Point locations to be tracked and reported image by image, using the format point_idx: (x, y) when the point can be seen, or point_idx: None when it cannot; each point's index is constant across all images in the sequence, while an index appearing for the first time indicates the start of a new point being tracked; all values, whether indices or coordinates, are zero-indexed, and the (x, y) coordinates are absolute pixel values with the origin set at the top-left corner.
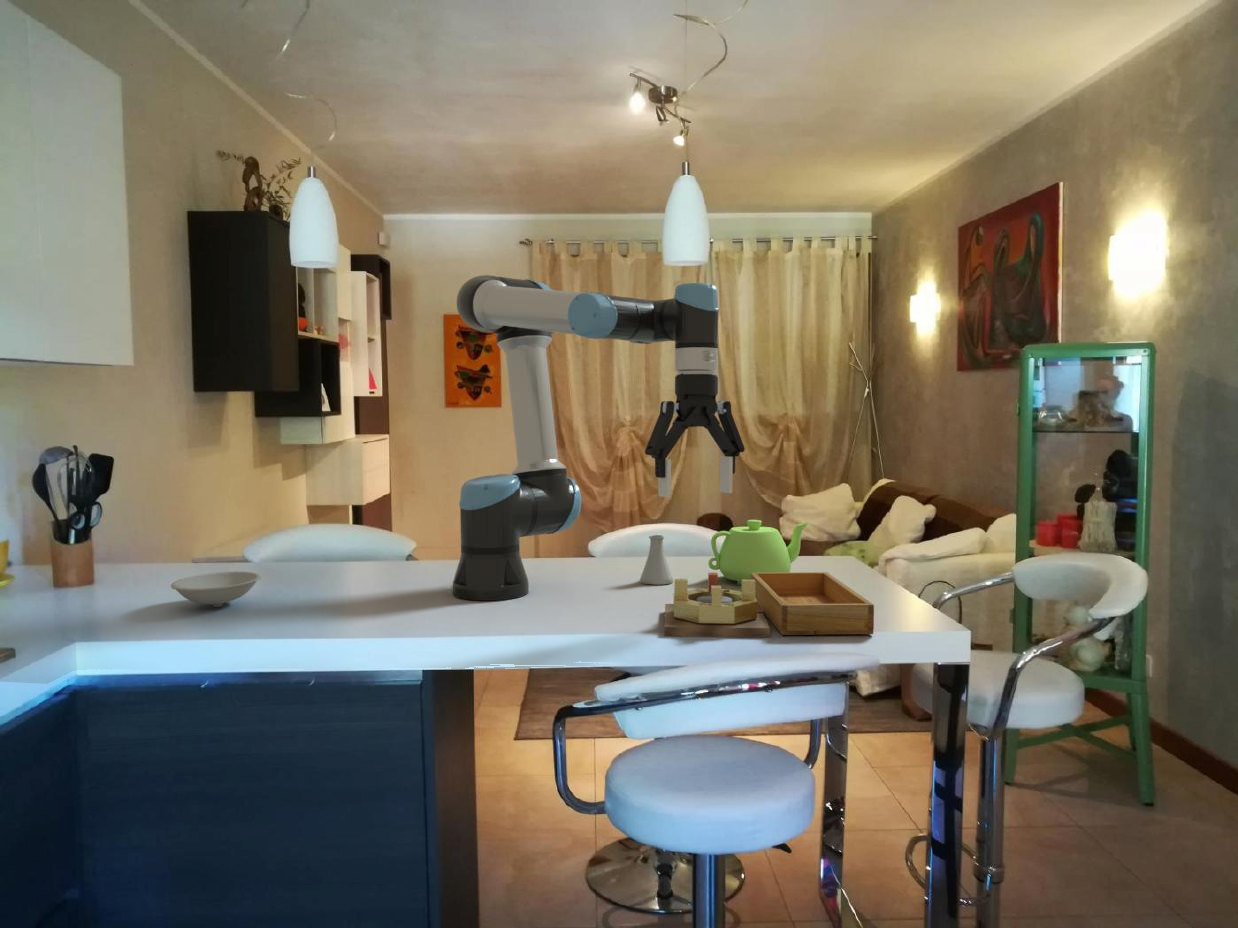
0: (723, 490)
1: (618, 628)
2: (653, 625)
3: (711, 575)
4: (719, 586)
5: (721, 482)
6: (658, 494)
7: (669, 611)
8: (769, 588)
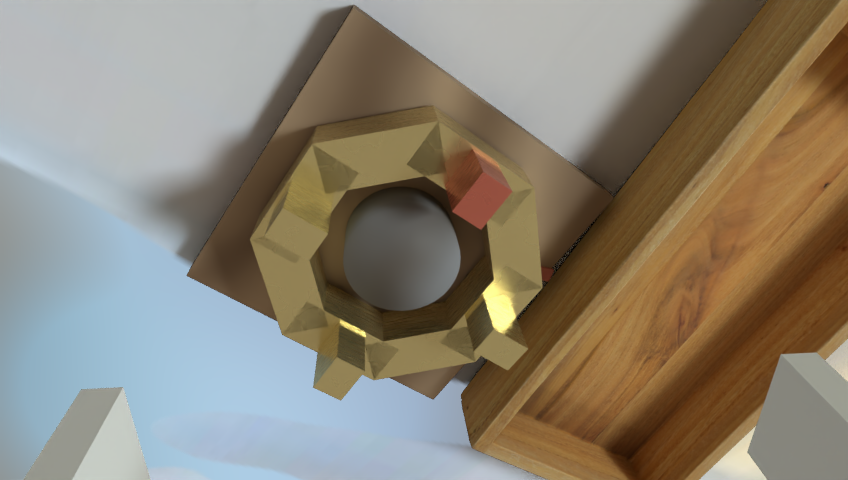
0: (776, 409)
1: (91, 123)
2: (219, 148)
3: (460, 216)
4: (351, 379)
5: (832, 440)
6: (75, 400)
7: (300, 124)
8: (629, 272)
